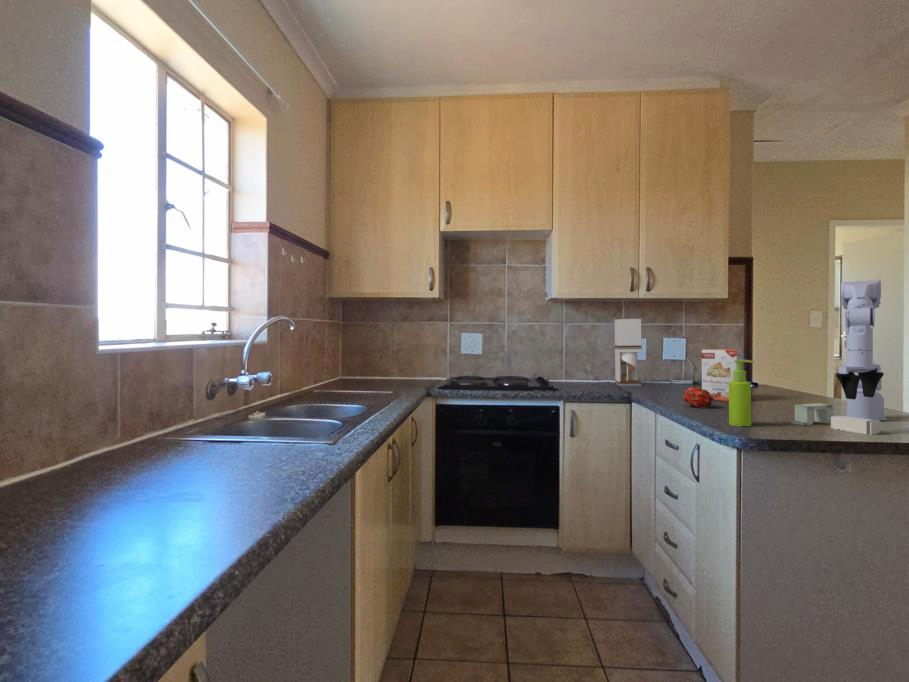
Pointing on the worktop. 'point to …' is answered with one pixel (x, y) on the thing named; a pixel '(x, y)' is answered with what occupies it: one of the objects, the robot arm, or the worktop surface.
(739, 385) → the soap dispenser
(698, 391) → the dragon fruit
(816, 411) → the pale green block
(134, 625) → the worktop surface
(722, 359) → the cracker box
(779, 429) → the worktop surface
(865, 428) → the bar
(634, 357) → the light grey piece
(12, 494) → the worktop surface
